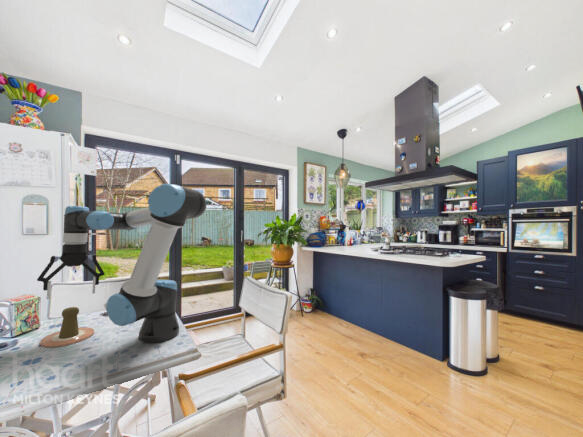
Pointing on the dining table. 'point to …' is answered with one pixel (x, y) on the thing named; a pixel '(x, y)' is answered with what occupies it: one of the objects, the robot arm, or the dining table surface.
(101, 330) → the dining table surface
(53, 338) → the dish
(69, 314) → the cork
